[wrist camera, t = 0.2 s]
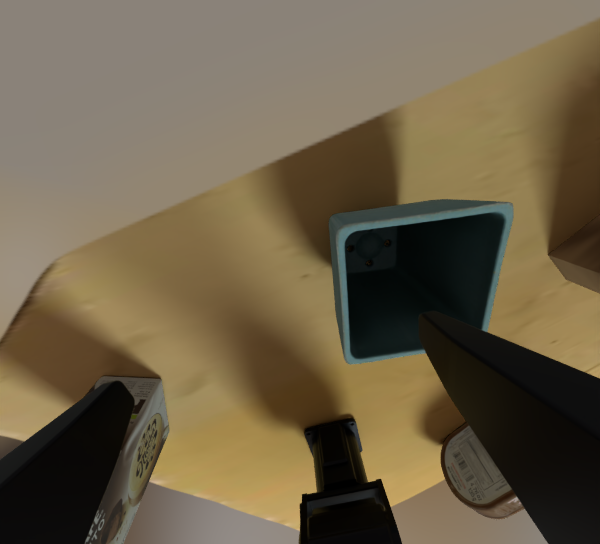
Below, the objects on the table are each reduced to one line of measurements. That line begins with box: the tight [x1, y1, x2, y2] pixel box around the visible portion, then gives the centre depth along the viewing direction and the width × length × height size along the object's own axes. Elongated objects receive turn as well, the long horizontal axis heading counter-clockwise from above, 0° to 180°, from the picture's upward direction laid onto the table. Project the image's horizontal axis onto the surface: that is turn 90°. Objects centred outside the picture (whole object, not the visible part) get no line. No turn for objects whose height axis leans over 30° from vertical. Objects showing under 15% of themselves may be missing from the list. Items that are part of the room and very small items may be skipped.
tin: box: [441, 423, 525, 519], centre depth 29 cm, size 15×3×8 cm, turn 144°
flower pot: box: [329, 199, 513, 364], centre depth 18 cm, size 9×9×9 cm
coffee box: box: [85, 376, 169, 544], centre depth 20 cm, size 9×6×16 cm
